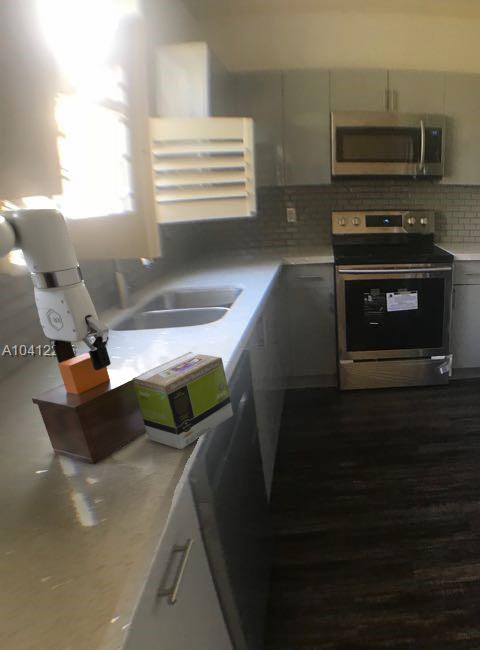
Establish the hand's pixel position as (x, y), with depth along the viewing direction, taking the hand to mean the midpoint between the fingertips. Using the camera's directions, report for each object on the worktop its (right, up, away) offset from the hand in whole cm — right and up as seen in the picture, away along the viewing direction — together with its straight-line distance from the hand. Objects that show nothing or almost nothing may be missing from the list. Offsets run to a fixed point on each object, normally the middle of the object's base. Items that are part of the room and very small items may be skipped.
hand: (85, 364), depth 90 cm
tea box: (+17, -14, +10) cm, 24 cm away
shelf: (0, -16, +6) cm, 17 cm away
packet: (0, -4, +1) cm, 5 cm away
